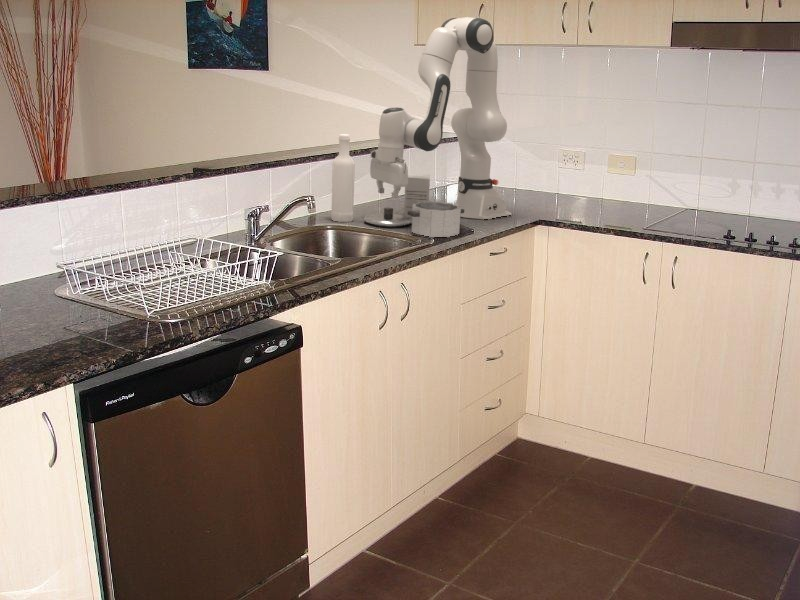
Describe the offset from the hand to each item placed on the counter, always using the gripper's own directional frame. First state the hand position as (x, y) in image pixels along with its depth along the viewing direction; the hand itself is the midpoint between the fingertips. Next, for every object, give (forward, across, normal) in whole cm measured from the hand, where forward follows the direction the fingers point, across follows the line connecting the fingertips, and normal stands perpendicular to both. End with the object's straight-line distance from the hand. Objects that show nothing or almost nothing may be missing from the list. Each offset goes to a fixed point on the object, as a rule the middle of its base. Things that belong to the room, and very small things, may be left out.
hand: (387, 195), depth 307 cm
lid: (+10, 0, -1) cm, 10 cm away
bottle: (+10, +10, +12) cm, 19 cm away
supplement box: (+10, +7, -17) cm, 21 cm away
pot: (+10, -18, -9) cm, 22 cm away
